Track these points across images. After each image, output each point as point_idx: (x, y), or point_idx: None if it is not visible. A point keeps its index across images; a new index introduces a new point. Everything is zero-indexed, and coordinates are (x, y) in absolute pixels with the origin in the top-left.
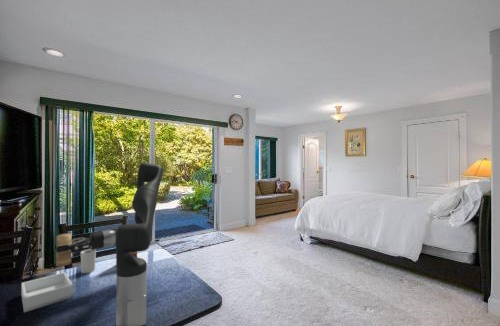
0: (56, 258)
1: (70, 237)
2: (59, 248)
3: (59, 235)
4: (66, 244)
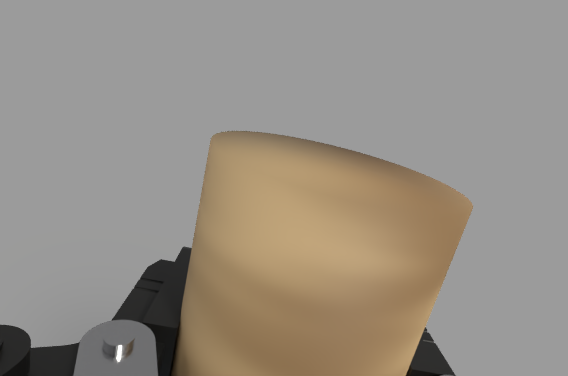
0: None
1: (237, 234)
2: (155, 268)
3: (355, 156)
4: (184, 305)
